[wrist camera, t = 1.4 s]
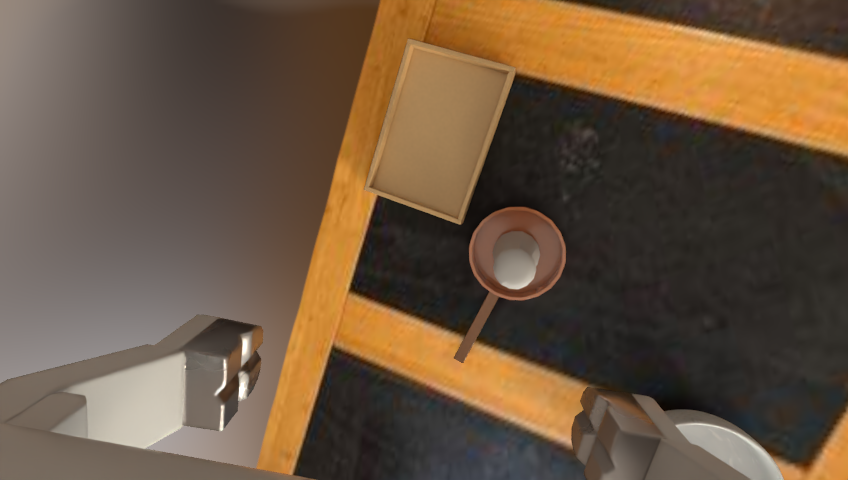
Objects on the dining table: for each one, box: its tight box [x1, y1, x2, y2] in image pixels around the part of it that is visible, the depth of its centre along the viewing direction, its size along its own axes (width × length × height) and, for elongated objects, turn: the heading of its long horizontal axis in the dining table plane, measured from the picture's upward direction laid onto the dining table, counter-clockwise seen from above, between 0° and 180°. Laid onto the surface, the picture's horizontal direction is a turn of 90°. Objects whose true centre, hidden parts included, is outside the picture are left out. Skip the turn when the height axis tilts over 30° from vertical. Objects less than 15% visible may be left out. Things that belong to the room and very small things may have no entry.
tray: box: [364, 38, 516, 224], centre depth 51 cm, size 20×14×2 cm
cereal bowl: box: [664, 409, 784, 480], centre depth 46 cm, size 17×17×7 cm
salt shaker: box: [492, 231, 540, 289], centre depth 45 cm, size 6×6×13 cm
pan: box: [469, 206, 566, 300], centre depth 50 cm, size 12×12×3 cm
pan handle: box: [454, 291, 499, 363], centre depth 52 cm, size 11×1×1 cm, turn 155°
